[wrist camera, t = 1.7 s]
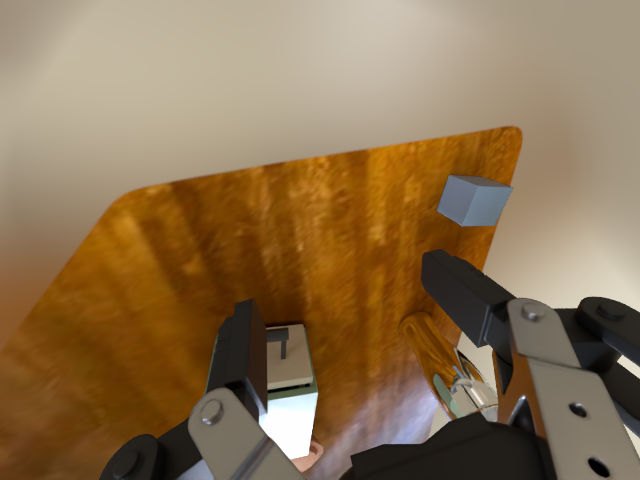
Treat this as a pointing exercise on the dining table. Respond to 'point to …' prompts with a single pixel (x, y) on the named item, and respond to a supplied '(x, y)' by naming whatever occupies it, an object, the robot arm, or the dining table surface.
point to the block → (473, 200)
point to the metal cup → (448, 370)
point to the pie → (309, 455)
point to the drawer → (287, 358)
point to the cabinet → (290, 415)
